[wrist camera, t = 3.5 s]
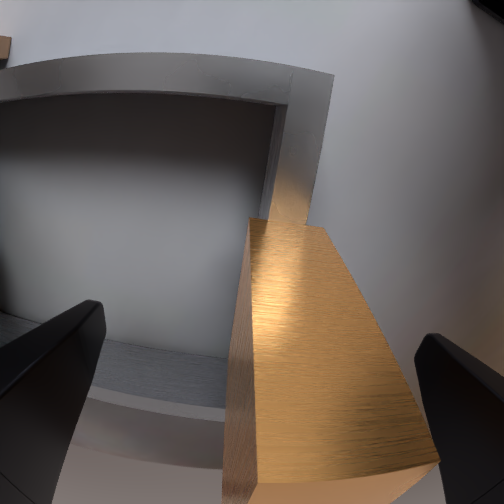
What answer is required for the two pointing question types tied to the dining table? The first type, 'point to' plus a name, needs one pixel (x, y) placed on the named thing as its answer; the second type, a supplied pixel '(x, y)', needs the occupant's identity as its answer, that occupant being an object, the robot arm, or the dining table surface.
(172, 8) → the dining table surface
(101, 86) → the grey shallow tray
